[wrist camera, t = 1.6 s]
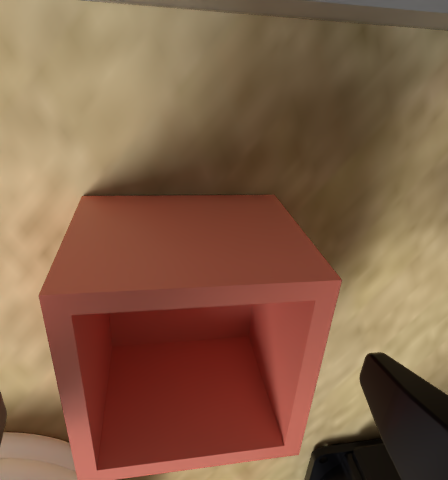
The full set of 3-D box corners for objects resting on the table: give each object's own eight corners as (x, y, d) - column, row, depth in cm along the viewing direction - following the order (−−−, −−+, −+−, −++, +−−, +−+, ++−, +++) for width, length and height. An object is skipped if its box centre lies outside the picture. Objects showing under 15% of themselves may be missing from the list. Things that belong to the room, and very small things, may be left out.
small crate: (256, 334, 15) (299, 454, 11) (100, 346, 14) (78, 484, 10) (274, 194, 12) (341, 280, 8) (82, 196, 11) (38, 295, 7)
